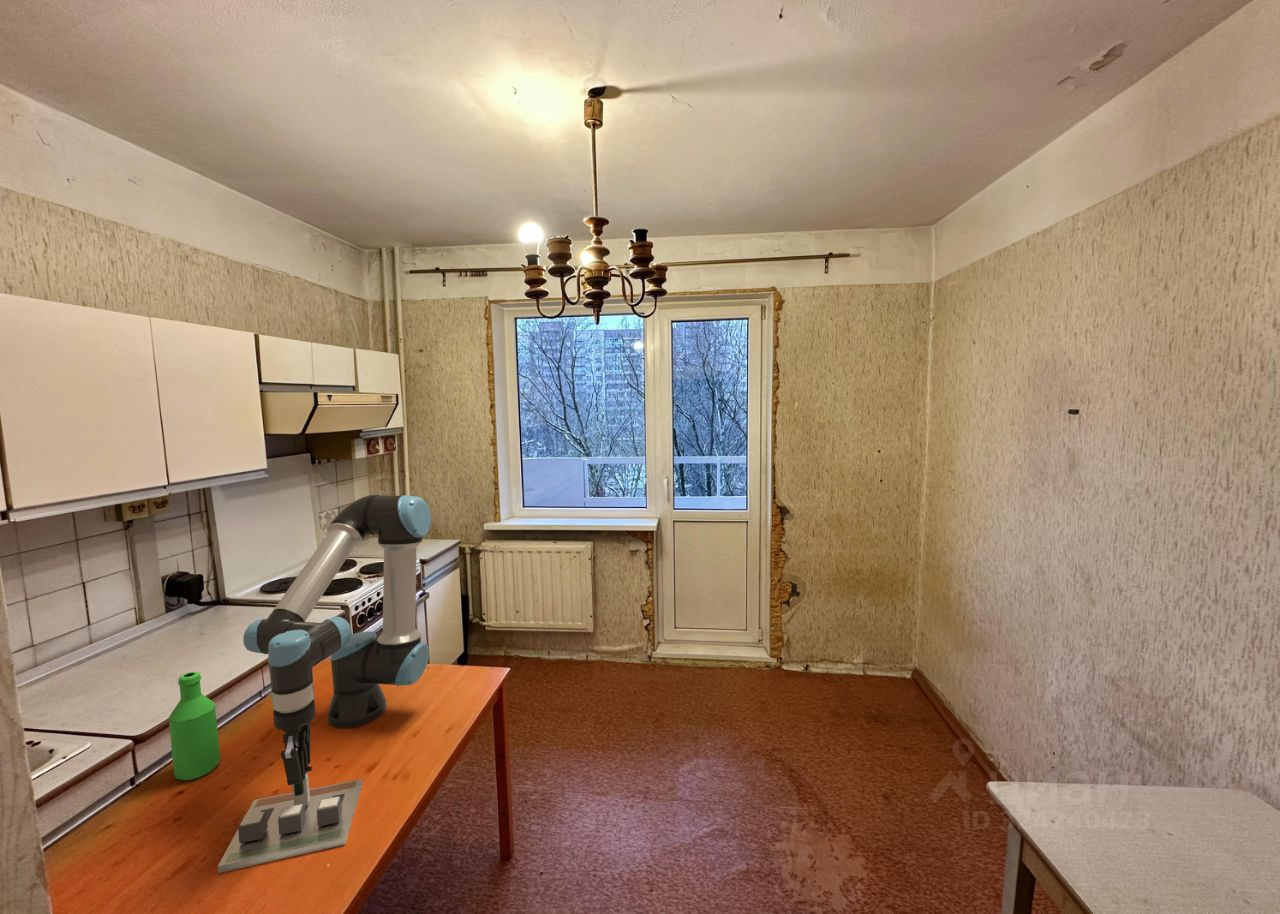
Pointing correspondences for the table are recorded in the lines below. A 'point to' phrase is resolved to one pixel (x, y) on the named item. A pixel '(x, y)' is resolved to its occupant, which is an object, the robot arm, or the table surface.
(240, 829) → the breaker
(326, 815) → the block
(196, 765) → the bottle
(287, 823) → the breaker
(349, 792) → the panel
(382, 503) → the robot arm
